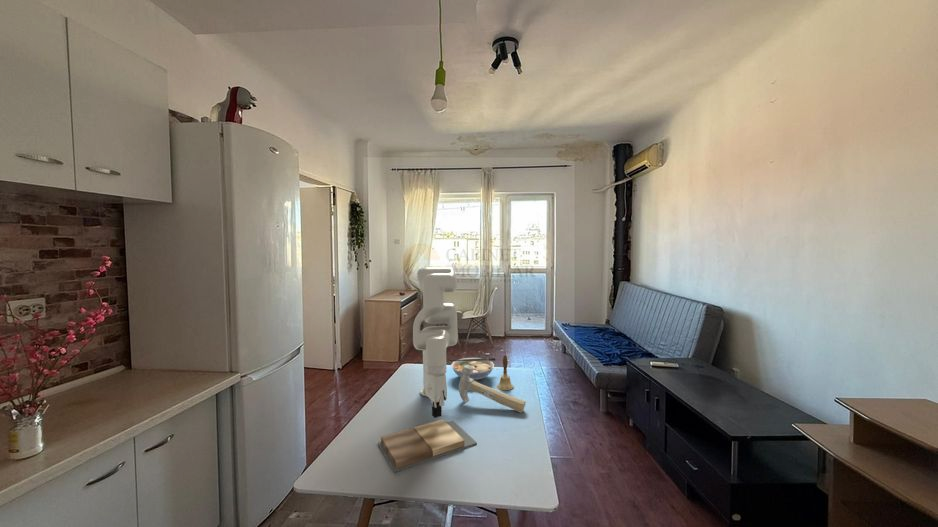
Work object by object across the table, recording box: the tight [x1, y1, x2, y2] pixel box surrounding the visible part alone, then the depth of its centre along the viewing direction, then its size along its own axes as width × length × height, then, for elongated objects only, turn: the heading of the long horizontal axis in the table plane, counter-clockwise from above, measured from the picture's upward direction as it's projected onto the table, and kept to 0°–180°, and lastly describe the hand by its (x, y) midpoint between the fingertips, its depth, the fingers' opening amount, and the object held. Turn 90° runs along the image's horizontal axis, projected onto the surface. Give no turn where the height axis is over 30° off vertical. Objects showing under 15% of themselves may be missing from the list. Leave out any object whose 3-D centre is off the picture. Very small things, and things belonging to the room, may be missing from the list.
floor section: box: [377, 420, 478, 473], centre depth 123 cm, size 18×30×3 cm, turn 120°
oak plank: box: [413, 418, 464, 456], centre depth 125 cm, size 17×12×2 cm
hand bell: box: [496, 354, 515, 391], centre depth 171 cm, size 8×8×16 cm
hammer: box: [458, 365, 527, 414], centre depth 151 cm, size 16×5×30 cm
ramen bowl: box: [449, 357, 496, 382], centre depth 183 cm, size 25×23×8 cm
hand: (436, 416), depth 131 cm, fingers closed
